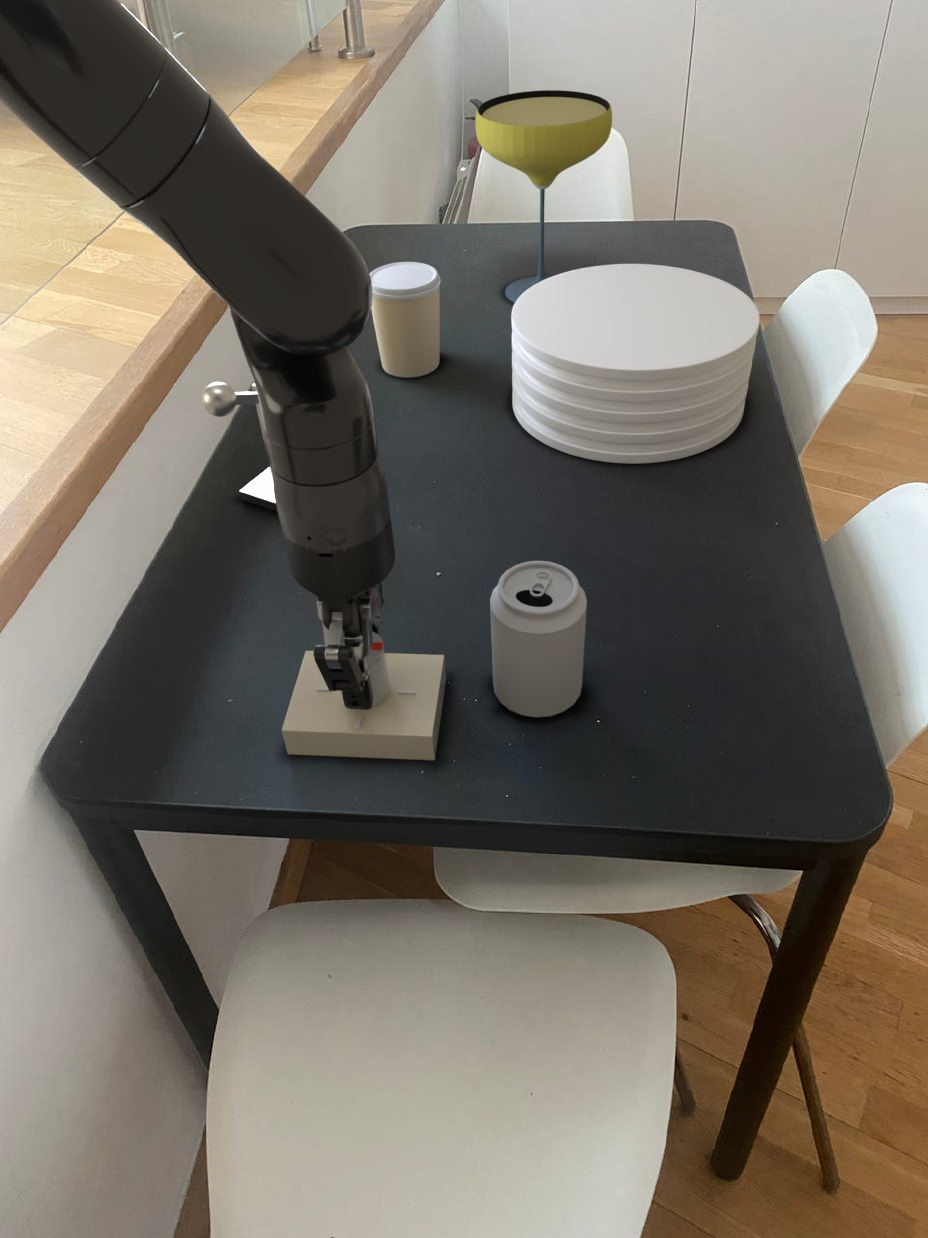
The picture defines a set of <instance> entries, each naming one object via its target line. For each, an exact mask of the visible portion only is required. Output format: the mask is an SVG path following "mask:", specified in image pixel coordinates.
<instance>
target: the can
mask: <svg viewBox="0 0 928 1238" xmlns="http://www.w3.org/2000/svg"><path fill="white" fill-rule="evenodd" d="M490 595H491V596H490V599H489V608H490V609H489V611H490V637H491V638H490V639H491V663H492V666H491V667H492V685H493V692H494V694H495V697H496V698H497V699H498V701H499V703H500V704H502V705H503V706H504V707H506V708H507V710H509V711H511V712H513V713H516V714H519V715H521V716H524V717H531V718H545V717H552V716H555V715H558V714H561V713H563V712H565V711H567V710H568V709H570V708H571V707H572V706H574V704H575V703H576V702H577V700H578V699H579V697H580V696H581V692H582V687H583V676H584V675H583V674H584V661H585V660H584V657H585V642H586V624H587V610H588V609H587V608H588V599H587V596H586V592H585V590H584V589H583V588H582V586H581V585H580V584H579V580H578V578H577V576H576V575H575V574H574V573H573V572H572V571H571V570H570V569H568V568H567V567H565V566H564V565H561V564H559V563H556V562H553V561H548V560H547V561H545V560H530V561H529V560H528V561H525V562H521V563H517V564H515V565H513V566H511V567H510V568H508V569H507V570H505V572H503V574H502V575H501V576H500V577H499V580H498V583H497V585H496V586H495V587H494V588H493V589H492V592H491V594H490Z"/></svg>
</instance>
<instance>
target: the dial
mask: <svg viewBox="0 0 928 1238" xmlns="http://www.w3.org/2000/svg"><path fill="white" fill-rule="evenodd" d="M372 635H373V646H372V648H371V651H370V653H369V655H368V668H369V670H370V674H369V676H370V682H371V688H372V694H373V704H372V707H375V706H377V705H379V704H381V703H382V702H383V701H384V700H385V699H386V698H387V696H388V695H389V692H390V684H389V677H388V670H387V664H386V657H385V653H386V651H385V644H384V641H383V638H382V637H381V636H380V634H379V635H378V634H376V633H375V632H372ZM345 639H362V635H360V636H359V637H356V638H345ZM355 657H356V659H357V662H358V657H357V656H355ZM358 664H359V663H358ZM341 696H342V699H343V695H342V691H341Z"/></svg>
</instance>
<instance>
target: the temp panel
mask: <svg viewBox="0 0 928 1238" xmlns="http://www.w3.org/2000/svg"><path fill="white" fill-rule="evenodd" d="M313 653H314V650H305V652H304V655H303V658H302V662H301V665H300V668H299V672H298V675H297V679H296V682H295V684H294V688H293V691H292V695H291V698H290V701H289V704H288V708H287V711H286V714H285V717H284V721H283V723H282V727H281V734H282V738H283V742H284V745H285V749H286V752H287V755H292V756H293V755H296V756H316V757H317V756H318V757H319V756H320V757H341V758H342V757H345V758H366V759H387V760H391V759H393V760H415V761H417V760H418V761H435V760H436V755H437V754H436V753H437V747H438V742H439V741H438V740H439V733H440V727H441V719H442V713H443V706H444V698H445V692H446V684H447V672H446V671H447V670H446V660H445V654H429V653H428V654H426V653H425V654H424V653H397V652H394V653H393V652H385V657H386V664H387V670H388V677H389V684H390V692H389V695H388V696H387V698H386V699H385V700H384V701H383V702H382V703H381V704H379V705H377V706H375V707H372V708H371V709H369V710H360V709H348V708H346V707H345V705H344V700H343V699H342V696H341V691H329V689H328V687H327V685H326V683H325V681H324V679H323V677H322V675H321V672H320V670H319V668H318V666H317V664H316V662H315V658H314V655H313Z"/></svg>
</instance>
